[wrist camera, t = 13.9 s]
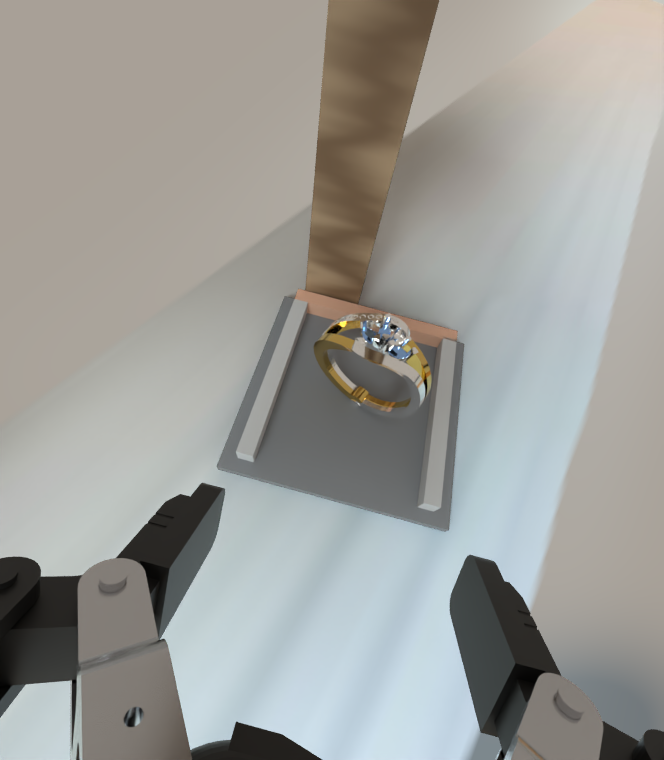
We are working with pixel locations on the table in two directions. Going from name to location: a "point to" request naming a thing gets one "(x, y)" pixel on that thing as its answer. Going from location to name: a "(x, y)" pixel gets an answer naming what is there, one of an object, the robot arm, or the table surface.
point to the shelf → (361, 132)
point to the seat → (349, 419)
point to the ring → (376, 360)
